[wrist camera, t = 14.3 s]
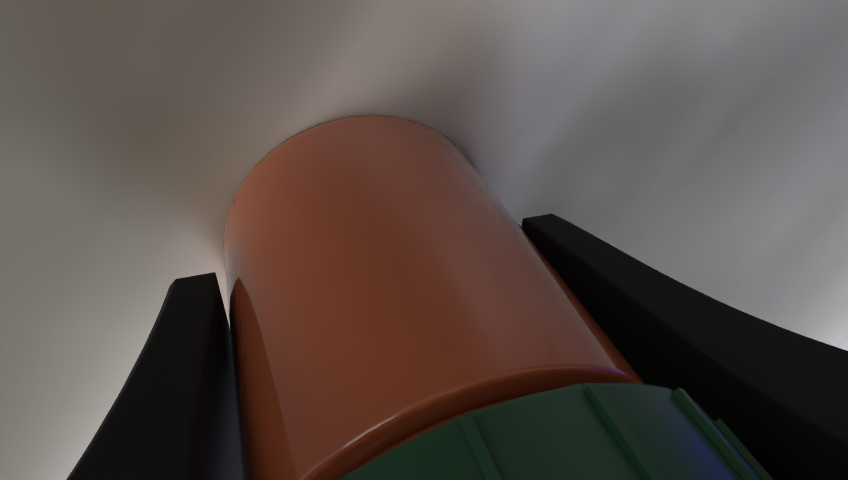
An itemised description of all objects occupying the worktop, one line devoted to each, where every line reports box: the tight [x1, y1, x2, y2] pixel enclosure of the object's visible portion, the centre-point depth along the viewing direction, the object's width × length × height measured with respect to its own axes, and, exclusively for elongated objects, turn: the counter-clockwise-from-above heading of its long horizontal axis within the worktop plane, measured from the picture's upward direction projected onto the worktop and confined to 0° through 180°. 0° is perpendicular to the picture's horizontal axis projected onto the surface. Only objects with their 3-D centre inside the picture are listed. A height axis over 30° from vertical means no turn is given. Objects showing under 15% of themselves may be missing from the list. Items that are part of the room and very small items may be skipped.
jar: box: [223, 116, 645, 480], centre depth 8 cm, size 5×5×8 cm
